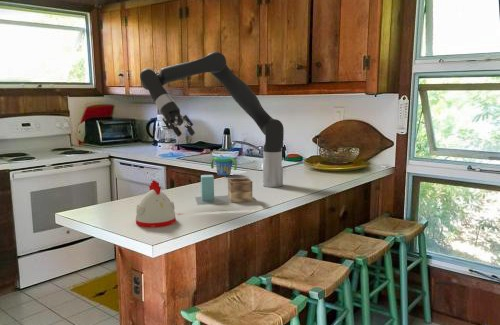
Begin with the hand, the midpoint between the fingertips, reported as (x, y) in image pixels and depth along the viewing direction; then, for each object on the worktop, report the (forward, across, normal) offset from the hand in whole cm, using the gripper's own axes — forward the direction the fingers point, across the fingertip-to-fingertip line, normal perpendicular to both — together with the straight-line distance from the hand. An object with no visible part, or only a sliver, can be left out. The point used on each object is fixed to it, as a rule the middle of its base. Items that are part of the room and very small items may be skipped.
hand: (186, 134), depth 187 cm
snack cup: (+5, +56, +33) cm, 66 cm away
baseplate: (+32, +4, +6) cm, 33 cm away
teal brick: (+27, +1, +10) cm, 29 cm away
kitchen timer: (+31, -33, +10) cm, 46 cm away
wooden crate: (+36, +8, +2) cm, 37 cm away
